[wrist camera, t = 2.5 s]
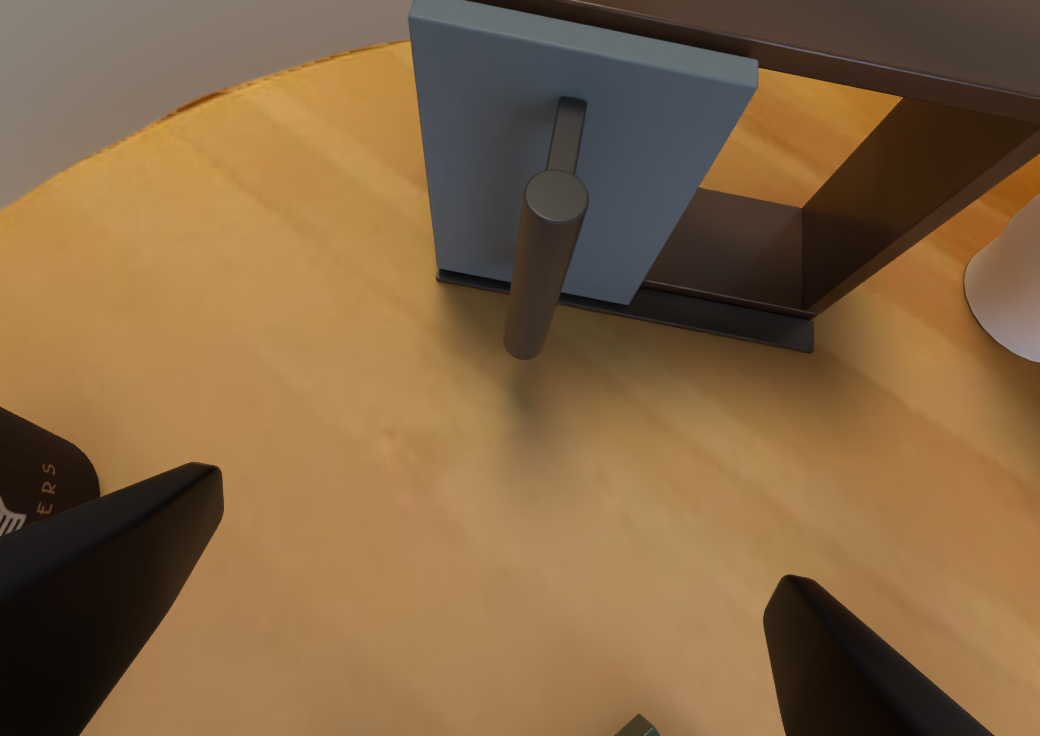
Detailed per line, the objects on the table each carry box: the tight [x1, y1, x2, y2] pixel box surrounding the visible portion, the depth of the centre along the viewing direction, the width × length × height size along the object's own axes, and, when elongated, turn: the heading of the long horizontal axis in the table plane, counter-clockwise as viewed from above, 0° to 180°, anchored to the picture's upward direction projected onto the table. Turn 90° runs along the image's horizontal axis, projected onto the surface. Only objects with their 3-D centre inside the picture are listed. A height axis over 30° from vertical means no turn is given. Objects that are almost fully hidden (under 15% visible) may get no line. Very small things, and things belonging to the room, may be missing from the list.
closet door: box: [408, 0, 758, 360], centre depth 19 cm, size 6×9×12 cm, turn 80°
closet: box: [436, 0, 1040, 353], centre depth 21 cm, size 8×18×13 cm, turn 80°
